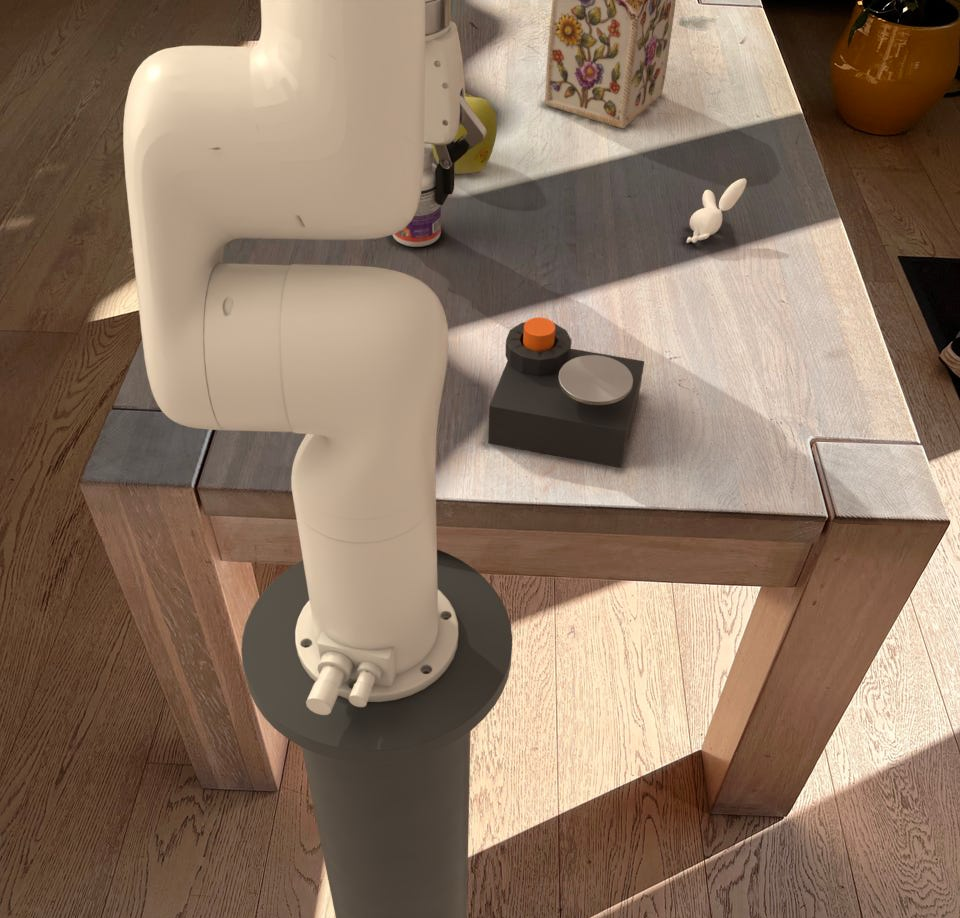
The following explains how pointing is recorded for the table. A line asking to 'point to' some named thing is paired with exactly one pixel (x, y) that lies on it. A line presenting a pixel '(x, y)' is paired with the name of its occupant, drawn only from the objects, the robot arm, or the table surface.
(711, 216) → the rabbit figurine
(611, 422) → the scale
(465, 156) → the apple
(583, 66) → the decorative jar
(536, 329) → the power button
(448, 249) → the table surface
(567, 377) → the scale pan
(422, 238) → the pill bottle
